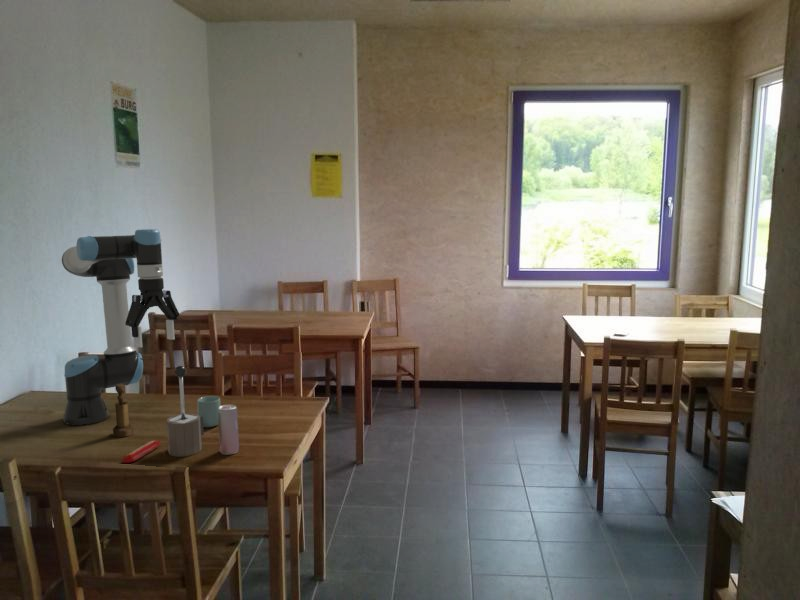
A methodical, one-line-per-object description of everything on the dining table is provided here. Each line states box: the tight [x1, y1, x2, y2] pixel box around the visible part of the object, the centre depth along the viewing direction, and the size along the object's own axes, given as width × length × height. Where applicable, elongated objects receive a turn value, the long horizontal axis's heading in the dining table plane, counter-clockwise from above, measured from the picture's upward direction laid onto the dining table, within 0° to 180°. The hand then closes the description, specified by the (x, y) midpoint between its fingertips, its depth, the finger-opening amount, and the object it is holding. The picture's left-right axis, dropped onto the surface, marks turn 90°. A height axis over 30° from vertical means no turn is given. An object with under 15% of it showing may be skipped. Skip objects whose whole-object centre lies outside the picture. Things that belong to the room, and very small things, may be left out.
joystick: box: [174, 365, 187, 420], centre depth 204 cm, size 7×7×19 cm
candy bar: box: [121, 440, 161, 464], centre depth 203 cm, size 16×4×3 cm, turn 166°
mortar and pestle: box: [112, 384, 134, 438], centre depth 221 cm, size 7×6×18 cm
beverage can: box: [217, 404, 240, 456], centre depth 204 cm, size 6×6×15 cm
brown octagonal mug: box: [165, 413, 205, 458], centre depth 207 cm, size 10×13×11 cm
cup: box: [196, 395, 221, 428], centre depth 229 cm, size 8×8×10 cm
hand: (155, 343), depth 205 cm, fingers open, 13 cm apart
